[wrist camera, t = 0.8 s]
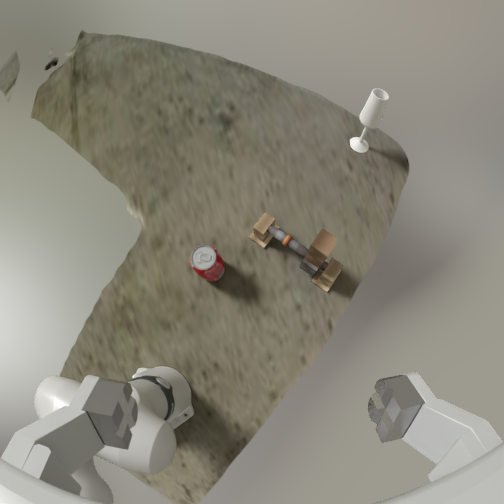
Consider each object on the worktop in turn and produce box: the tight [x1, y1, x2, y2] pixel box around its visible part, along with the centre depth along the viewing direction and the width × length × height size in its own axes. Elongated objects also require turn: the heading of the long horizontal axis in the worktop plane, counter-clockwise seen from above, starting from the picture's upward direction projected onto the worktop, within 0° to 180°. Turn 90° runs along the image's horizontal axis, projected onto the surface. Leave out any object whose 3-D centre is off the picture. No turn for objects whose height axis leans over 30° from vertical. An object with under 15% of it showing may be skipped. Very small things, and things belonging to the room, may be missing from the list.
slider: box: [300, 229, 339, 276], centre depth 64 cm, size 4×6×16 cm, turn 143°
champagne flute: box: [350, 88, 389, 153], centre depth 73 cm, size 7×7×24 cm
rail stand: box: [249, 212, 343, 292], centre depth 72 cm, size 25×7×7 cm, turn 53°
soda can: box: [191, 245, 225, 282], centre depth 69 cm, size 7×7×12 cm
